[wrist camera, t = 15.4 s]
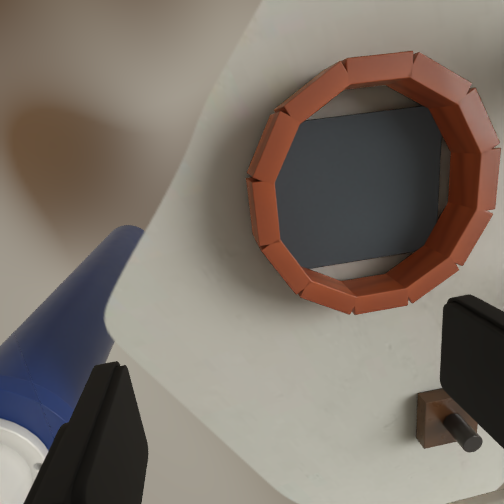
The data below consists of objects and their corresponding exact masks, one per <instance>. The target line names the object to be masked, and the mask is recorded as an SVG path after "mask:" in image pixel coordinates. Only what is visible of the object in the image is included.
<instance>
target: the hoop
mask: <svg viewBox="0 0 504 504" xmlns="http://www.w3.org/2000/svg"><path fill="white" fill-rule="evenodd" d="M382 85H386V86H388V87H390V88H391V89H393V90H395V91H397V92H399V93H401V94H402V95H404V96H406V97H408V98H410V99H412V100H413V101H415V102H417V103H419V104H421V105H423V106H425V107H426V108H428V109H429V110H430V112H431V114H432V116H433V118H434V120H435V122H436V124H437V126H438V128H439V130H440V132H441V134H442V136H443V138H444V140H445V142H446V144H447V146H448V148H449V150H450V152H451V156H450V174H449V192H448V203H447V205H446V207H445V208H444V210H443V212H442V214H441V216H440V217H439V219H438V221H437V223H436V225H435V226H434V228H433V230H432V232H431V234H430V235H429V237H428V239H427V241H426V243H425V244H424V246H422V247H421V248H420V249H418V250H417V251H416V252H414V253H413V254H411V255H410V256H409V257H407V258H406V259H405V260H403V261H402V262H400V263H399V264H398V265H396V266H395V267H394V268H392V269H391V270H390V271H388V272H387V273H385V274H381V275H375V276H369V277H363V278H357V279H351V280H345V281H339V280H337V279H334V278H331V277H329V276H326V275H323V274H320V273H318V272H315V271H312V270H310V269H307V268H304V267H302V266H300V265H299V264H298V262H297V261H296V260H295V258H294V257H293V256H292V254H291V253H290V252H289V250H288V249H287V248H286V247H285V245H284V244H283V243H282V241H281V240H280V231H279V221H278V211H277V201H276V191H275V181H276V179H277V176H278V174H279V172H280V169H281V167H282V165H283V162H284V160H285V158H286V155H287V153H288V151H289V148H290V146H291V144H292V141H293V139H294V137H295V134H296V132H297V130H298V127H299V125H300V124H301V123H303V122H304V121H305V120H306V119H308V118H309V117H310V116H311V115H313V114H314V113H315V112H316V111H318V110H319V109H320V108H322V107H323V106H324V105H325V104H327V103H328V102H329V101H330V100H332V99H333V98H334V97H335V96H337V95H338V94H339V93H340V92H342V91H343V90H348V89H357V88H365V87H373V86H382ZM471 85H472V83H471V82H469V81H468V80H466V79H464V78H462V77H461V76H459V75H457V74H456V73H454V72H452V71H450V70H449V69H447V68H445V67H444V66H442V65H440V64H439V63H437V62H435V61H433V60H432V59H430V58H428V57H427V56H425V55H423V54H422V53H420V52H418V53H415V54H413V51H407V52H398V53H389V54H380V55H370V56H361V57H352V58H346V59H344V60H343V61H339V62H337V63H335V64H334V65H332V66H330V67H328V68H327V69H325V70H323V71H322V72H321V73H319V74H318V75H317V76H316V77H314V78H313V79H312V80H311V81H309V82H308V83H307V84H306V85H304V86H303V87H302V88H301V89H299V90H298V91H297V92H296V93H294V94H293V95H292V96H291V97H289V98H288V99H287V100H286V101H284V102H283V103H282V104H281V105H279V106H278V107H277V108H276V109H274V112H275V113H274V114H271V115H270V117H269V119H268V121H267V124H266V126H265V129H264V131H263V134H262V136H261V139H260V141H259V144H258V146H257V148H256V151H255V153H254V156H253V158H252V161H251V163H250V166H249V168H248V171H247V174H249V175H250V176H252V177H249V178H246V183H247V191H248V199H249V207H250V215H251V224H252V232H253V235H254V237H255V240H256V242H257V244H258V246H259V248H260V250H261V251H262V253H263V254H264V255H265V256H266V258H267V259H268V260H269V261H270V263H271V264H272V265H273V266H274V268H275V269H276V270H277V271H278V273H279V274H280V275H281V277H282V278H283V279H284V280H285V282H286V283H287V284H288V285H289V287H290V288H291V289H292V290H293V292H294V293H295V294H298V295H299V296H300V298H303V299H306V300H309V301H312V302H315V303H318V304H321V305H323V306H326V307H329V308H332V309H335V310H338V311H341V312H344V313H346V314H351V312H353V314H354V315H357V314H362V313H368V312H374V311H379V310H385V309H390V308H396V307H401V306H407V305H408V300H409V301H410V302H411V303H414V302H415V301H417V300H418V299H419V298H421V297H422V296H424V295H425V294H426V293H428V292H429V291H431V290H432V289H433V288H435V287H436V286H438V285H439V284H440V283H442V282H443V281H444V280H446V279H447V278H449V277H450V276H451V275H453V274H454V273H456V272H457V271H458V270H459V269H458V267H457V265H456V264H458V265H461V266H463V265H464V263H465V261H466V259H467V258H468V256H469V254H470V253H471V251H472V249H473V248H474V246H475V244H476V243H477V241H478V239H479V237H480V236H481V234H482V232H483V231H484V229H485V227H486V226H487V224H488V222H489V221H490V219H491V217H492V215H493V214H492V213H490V212H488V211H486V210H492V209H495V205H496V194H497V184H498V174H499V164H500V154H501V148H494V147H495V146H497V145H498V144H499V143H500V141H499V139H498V137H497V134H496V132H495V130H494V128H493V125H492V123H491V121H490V119H489V116H488V114H487V112H486V110H485V107H484V105H483V103H482V101H481V98H480V96H479V94H478V92H477V89H476V88H470V87H471Z"/></svg>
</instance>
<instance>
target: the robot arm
mask: <svg viewBox="0 0 504 504" xmlns="http://www.w3.org/2000/svg"><path fill="white" fill-rule="evenodd" d="M440 383H441V386H442V388H443V389H444V391H445V392H446V393H447V394H448V395H449V396H450V397H451V398H452V399H453V400H454V401H455V402H456V403H457V404H458V405H459V406H460V407H461V408H462V409H463V410H464V411H466V412H467V413H468V414H469V415H470V416H471V417H472V418H473V419H474V420H475V421H476V422H477V423H478V424H479V425H480V426H481V427H482V428H483V429H484V430H485V431H486V432H487V433H488V434H489V435H490V436H491V437H492V438H493V439H494V440H495V441H496V442H497V443H498V444H499V445H501V446H502V447H503V448H504V312H503V311H501V310H499V309H497V308H496V307H494V306H492V305H490V304H488V303H486V302H484V301H482V300H480V299H479V298H477V297H475V296H473V295H464V296H459V297H453V298H450V299H449V300H448V302H447V304H445V305H444V307H443V323H442V344H441V365H440ZM147 462H148V445H147V440H146V436H145V432H144V428H143V425H142V421H141V417H140V413H139V409H138V406H137V402H136V398H135V394H134V391H133V387H132V383H131V379H130V375H129V372H128V368H127V366H126V365H124V366H120V364H119V362H117V361H116V362H110V363H105V364H100V365H96V366H94V368H93V370H92V372H91V374H90V377H89V379H88V381H87V383H86V385H85V388H84V390H83V392H82V394H81V396H80V399H79V401H78V403H77V405H76V407H75V410H74V412H73V414H72V416H71V418H70V421H69V423H65V424H63V425H62V426H61V427H60V429H59V430H58V432H57V434H56V436H55V439H54V441H53V443H52V445H51V447H50V449H49V451H48V450H47V448H46V446H45V445H44V444H43V443H42V442H41V440H40V439H39V438H38V437H37V436H35V435H34V434H33V433H31V432H30V431H29V430H27V429H26V428H24V427H22V426H20V425H18V424H16V423H14V422H11V421H8V420H4V419H1V418H0V504H141V502H142V495H143V489H144V481H145V475H146V468H147ZM447 504H504V489H501V490H497V491H493V492H490V493H486V494H482V495H478V496H474V497H470V498H466V499H463V500H459V501H455V502H451V503H447Z"/></svg>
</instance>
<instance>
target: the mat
mask: <svg viewBox="0 0 504 504" xmlns="http://www.w3.org/2000/svg"><path fill="white" fill-rule="evenodd" d="M440 155H441V132H440V130H439V128H438V126H437V124H436V122H435V120H434V118H433V116H432V114H431V112H430V110H429V109H428V108H426V107H425V106H419V107H411V108H403V109H395V110H387V111H379V112H371V113H362V114H354V115H346V116H338V117H330V118H322V119H314V120H306V121H304V122H303V123H301V124H300V125H299V127H298V130H297V132H296V134H295V137H294V139H293V141H292V144H291V146H290V148H289V151H288V153H287V155H286V158H285V160H284V162H283V165H282V167H281V169H280V172H279V174H278V176H277V179H276V181H275V191H276V201H277V211H278V221H279V231H280V240H281V241H282V243H283V244H284V245H285V247H286V248H287V249H288V250H289V252H290V253H291V254H292V256H293V257H294V258H295V260H296V261H297V262H298V264H299V265H300V266H302V267H304V268H307V269H310V268H317V267H323V266H329V265H335V264H341V263H347V262H353V261H359V260H365V259H371V258H378V257H384V256H390V255H396V254H402V253H408V252H414V251H417V250H418V249H420V248H421V247H422V246H424V244H425V243H426V241H427V239H428V237H429V235H430V234H431V232H432V230H433V228H434V226H435V225H436V223H437V218H438V197H439V176H440Z"/></svg>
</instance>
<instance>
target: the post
mask: <svg viewBox="0 0 504 504" xmlns="http://www.w3.org/2000/svg"><path fill="white" fill-rule="evenodd" d="M477 425H478V423H477V422H476V421H475V420H474V419H473V418H472V417H471V416H470V415H469V414H468V413H467V412H466V411H464V410H463V409H462V408H461V407H460V406H459V405H458V404H457V403H456V402H455V401H454V400H453V399H452V398H451V397H450V396H449V395H448V394H447V393H446V392H445V391H444V389H443V388H442V389H437V390H432V391H427V392H422V393H418V400H417V429H416V438H417V440H418V441H419V442H420V444H421V445H422V447H423V448H424V449H425V448H430V447H434V446H439V445H443V444H448V443H452V442H458V443H459V445H460V446H461V447H462V448H463V449H464V450H465V451H466V452H474V451H476V450H478V449H479V448H480V447H481V445H482V438H481V437H480V436H479V435H478V434H477Z"/></svg>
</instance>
